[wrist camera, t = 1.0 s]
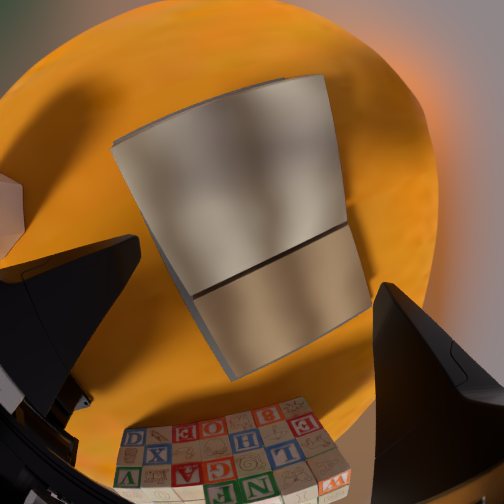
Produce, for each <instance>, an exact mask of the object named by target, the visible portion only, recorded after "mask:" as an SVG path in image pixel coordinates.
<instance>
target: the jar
mask: <svg viewBox="0 0 504 504" xmlns="http://www.w3.org/2000/svg"><path fill="white" fill-rule="evenodd" d="M24 232H25V226H24V213H23V187H22V185H21V184H19V183H18V182H16V181H14V180H12V179H10V178H8V177H7V176H5V175H3V174H1V173H0V260H1V259H4V257H5V256H6V255H7V253H8V252H9V251H10V250H11V248H12V247H13V246H14V245H15V243H16V242H17V241H18V240H19V238H20V237H21V236H22V235H23V234H24Z"/></svg>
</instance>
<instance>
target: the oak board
mask: <svg viewBox="0 0 504 504" xmlns="http://www.w3.org/2000/svg"><path fill="white" fill-rule="evenodd" d="M193 302H194V304H195V306H196V307H197V309H198V311H199V313H200V315H201V317H202V318H203V320H204V322H205V324H206V326H207V327H208V329H209V331H210V333H211V335H212V336H213V338H214V340H215V342H216V343H217V345H218V347H219V349H220V350H221V352H222V354H223V355H224V357H225V359H226V360H227V362H228V364H229V365H230V367H231V369H232V370H233V372H234V374H235V375H236V377H239V376H241V375H244V374H246V373H248V372H250V371H252V370H254V369H257V368H259V367H261V366H263V365H265V364H267V363H269V362H271V361H273V360H275V359H277V358H279V357H281V356H283V355H285V354H287V353H289V352H291V351H293V350H295V349H297V348H299V347H300V346H302V345H304V344H306V343H308V342H310V341H311V340H313V339H315V338H317V337H319V336H320V335H322V334H324V333H326V332H327V331H329V330H331V329H333V328H334V327H336V326H338V325H339V324H341V323H343V322H344V321H346V320H348V319H349V318H351V317H353V316H354V315H356V314H357V313H359V312H361V311H362V310H364V309H365V308H367V307H368V306H370V305H371V304H372V302H371V298H370V294H369V290H368V286H367V283H366V279H365V275H364V272H363V268H362V265H361V262H360V258H359V255H358V252H357V249H356V245H355V242H354V239H353V236H352V233H351V230H350V227H349V225H346V224H339V225H337V226H335V227H333V228H331V229H329V230H327V231H325V232H323V233H321V234H319V235H317V236H315V237H313V238H311V239H308V240H306V241H304V242H302V243H300V244H298V245H296V246H294V247H292V248H290V249H288V250H286V251H284V252H282V253H280V254H278V255H276V256H274V257H272V258H269V259H267V260H265V261H263V262H261V263H259V264H257V265H255V266H253V267H251V268H249V269H247V270H244V271H242V272H240V273H238V274H236V275H234V276H232V277H230V278H228V279H226V280H223V281H221V282H219V283H217V284H215V285H213V286H211V287H209V288H207V289H204V290H202V291H200V292H198V293H196V294H194V295H193Z"/></svg>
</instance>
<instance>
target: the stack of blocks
mask: <svg viewBox="0 0 504 504" xmlns="http://www.w3.org/2000/svg"><path fill="white" fill-rule="evenodd" d="M116 466H117V468H116V472H115V478H114V485H113V488H114V489H115V490H116V491H117V492H118V493H119V494H120V495H121V496H122V497H123V498H125V499H127V500H129V501H131V502H133V503H136V504H329V503H331V502H333V501H336V500H338V499H341V498H343V497H345V496H347V492H348V488H349V482H350V476H351V467H350V465H349V464H348V463H347V461H346V460H345V458H344V457H343V456H342V454H341V453H340V452H339V450H338V447H337V446H336V444H335V443H334V442H333V440H332V439H331V437H330V436H329V434H328V433H327V431H326V430H325V429H324V427H323V426H322V424H321V423H320V422H319V420H318V419H317V417H316V416H315V414H314V413H313V412H312V409H311V408H310V406H309V405H308V403H307V402H306V400H305V399H304V397H299V398H296V399H293V400H289V401H286V402H283V403H279V404H274V405H270V406H266V407H263V408H259V409H255V410H252V411H246V412H242V413H237V414H233V415H228V416H225V417H223V418H218V419H212V420H206V421H201V422H198V423H197V422H196V423H189V424H183V425H175V426H163V427H152V428H138V429H125V430H124V433H123V437H122V441H121V445H120V449H119V453H118V458H117V463H116Z"/></svg>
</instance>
